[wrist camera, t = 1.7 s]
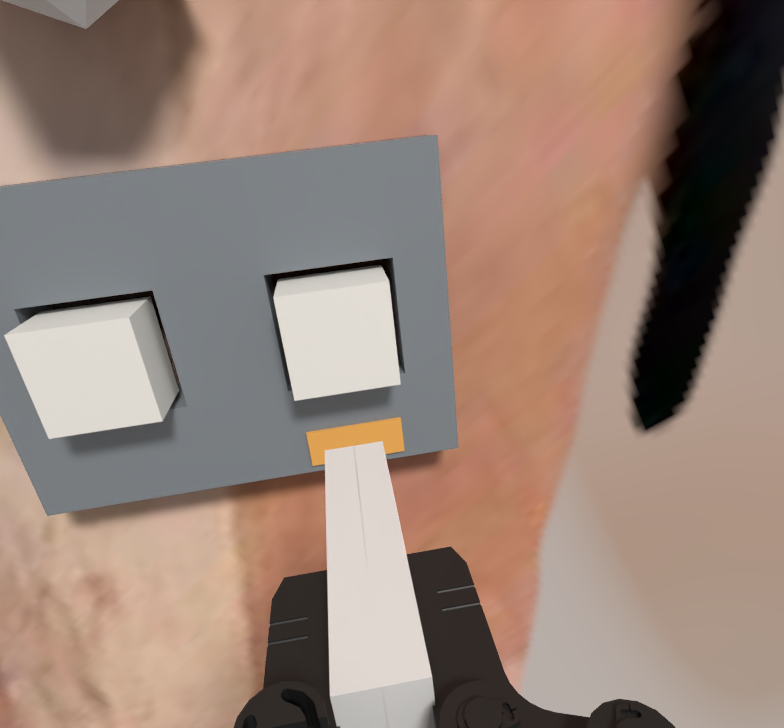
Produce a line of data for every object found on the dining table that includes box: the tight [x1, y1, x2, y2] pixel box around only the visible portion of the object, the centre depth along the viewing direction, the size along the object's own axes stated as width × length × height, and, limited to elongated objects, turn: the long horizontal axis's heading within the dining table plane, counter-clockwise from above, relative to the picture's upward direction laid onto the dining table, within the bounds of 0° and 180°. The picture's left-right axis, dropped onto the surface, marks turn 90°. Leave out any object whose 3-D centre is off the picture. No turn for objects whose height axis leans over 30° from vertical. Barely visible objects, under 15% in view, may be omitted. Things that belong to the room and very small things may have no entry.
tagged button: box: [273, 265, 401, 401], centre depth 25 cm, size 5×5×3 cm
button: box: [4, 296, 179, 439], centre depth 25 cm, size 5×5×3 cm
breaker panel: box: [0, 135, 458, 516], centre depth 27 cm, size 22×16×3 cm
